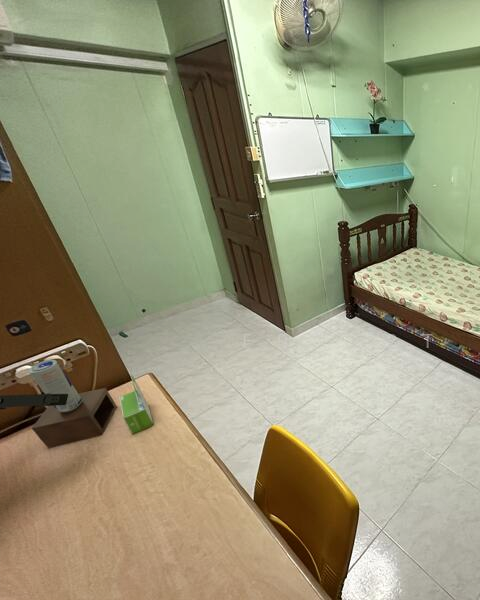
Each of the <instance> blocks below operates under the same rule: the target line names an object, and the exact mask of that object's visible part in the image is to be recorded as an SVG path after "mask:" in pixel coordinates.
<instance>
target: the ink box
mask: <svg viewBox="0 0 480 600" xmlns="http://www.w3.org/2000/svg"><path fill="white" fill-rule="evenodd" d="M129 375H130V378H131V382H132V386H133V389H134V391H132V392H129V393H126V394H123V395H121V396H119V397H118V398H119V404H120V409H121V414H122V419H123V420H124V422H125V424H126V425H127V427H128V429H129V431H130V433H131V434H132V435H134V434H136V433H138V432H141V431H143V430H145V429H147V428H150V427H151V426H153V425H154V421H153V417H152V414H151V409H150V405H149V403H148V401H147V399H146V397H145V396H144V393H143V391H142V389H141V387H140V386H139V384H138V382H137V381H136V379H135V378H134V376H133V374H132V373H131V372H129Z"/></svg>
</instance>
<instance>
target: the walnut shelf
mask: <svg viewBox="0 0 480 600" xmlns="http://www.w3.org/2000/svg"><path fill="white" fill-rule="evenodd" d="M77 393H78V392H77ZM78 394H79V396H80V397H81V399H82V402H81V404H80V405H79V406H78V407H77V408H76V409H74V410H72V411H69V412H59V411H57V409H56V408H55V407H54V406H47V408H46V409H45V410H44V411H43V413H42V414H41V415H40V417H39V418H38V420H36V422H35V423H34V424H33V426H32V427H31V430H32V431H33V432H34V433H35V435H36V436H37V437H38V438H39V439H40V440H41V442H42V443H43V445H44V446H45V447H46V448H47V449H49V448H54V447H58V446H62V445H67V444H71V443H75V442H78V441H83V440H87V439H91V438H95V437H99V436H103V434H104V432H105V431H106V429H107V427H108V425H109V423H110V421H111V420H112V417H113V415H114V414H115V411H116V409H117V407H118V405H117V404H116V402H115V400H114V399H113V398H112V396H111V394H110V393H109V390H108V389H107V387H103V388H98V389H93V390H88V391H84V392H79V393H78Z"/></svg>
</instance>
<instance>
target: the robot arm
mask: <svg viewBox="0 0 480 600" xmlns="http://www.w3.org/2000/svg"><path fill="white" fill-rule="evenodd" d="M67 398H68V394H50V393H47V394H45V393H39V394H37V393H35V394H7V395H5V394H3V395H2V394H1V395H0V410H6V409H7V408H20V407H21V408H23V407H37V409H38V410H43V409H44V407H48V406H56V405H66V403H67Z"/></svg>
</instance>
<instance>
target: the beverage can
mask: <svg viewBox="0 0 480 600" xmlns="http://www.w3.org/2000/svg"><path fill="white" fill-rule="evenodd" d="M28 373H29V374H30V376H31V377H32V378H33V379H34V381H35V382H36V384H37V385H38V386H39V388H40V389H41V391H42V392H43V394H47V393H50V394H68V398H67V403H66V405H56V406H54V407H55V408H56V409H57V411H59V412H69V411H72V410H74V409H76V408H77V407H78V406H79V405H80V404H81V402H82V399H81V397H80V396H79V394H78V391H77V389H76V388H75V387H74V385H73V383H72V382H71V381H70V379H69V377H68V376H67V375H66V373H65V371H64V370H63V368H62V367H61V365H60V364H59V363H58V361H57V360H55V359H46V360H43V361H41V362H38V363H36V364H34V365H32V366H31V367H30V368H29V369H28Z"/></svg>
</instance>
